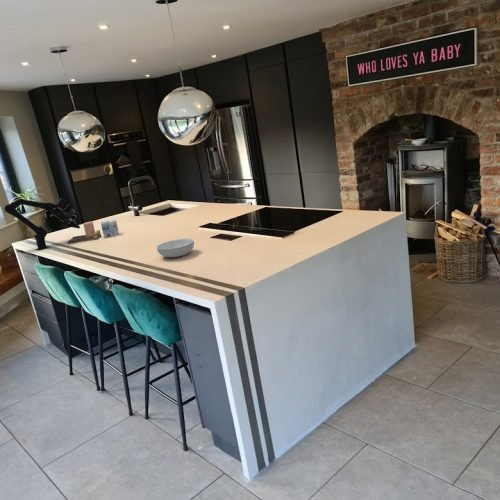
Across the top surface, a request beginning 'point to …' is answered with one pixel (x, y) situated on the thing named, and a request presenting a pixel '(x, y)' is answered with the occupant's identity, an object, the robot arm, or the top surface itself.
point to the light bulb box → (110, 228)
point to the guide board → (85, 238)
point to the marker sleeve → (89, 229)
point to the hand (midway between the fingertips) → (79, 228)
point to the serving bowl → (175, 247)
